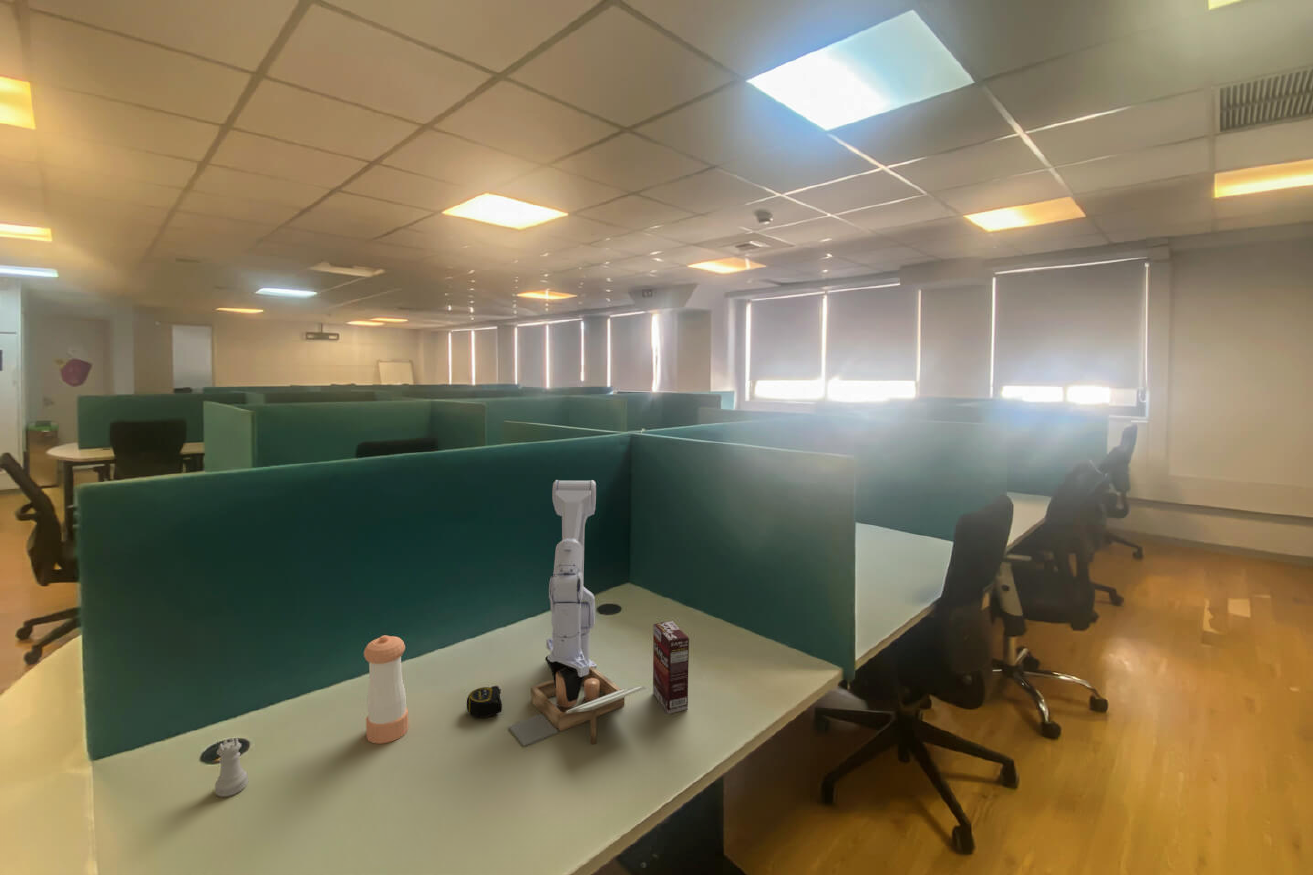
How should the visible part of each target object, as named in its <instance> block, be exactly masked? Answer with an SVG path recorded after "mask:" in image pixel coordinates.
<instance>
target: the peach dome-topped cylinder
mask: <svg viewBox="0 0 1313 875" xmlns="http://www.w3.org/2000/svg"><path fill="white" fill-rule="evenodd" d="M564 669H566V668H564ZM561 670H563V669H561ZM578 700H579V698H578V699H576V700H573V701H571V702H569V701H568V700H567V696H566V687H565V682H564V679H563V677H562V675H561V673H560V670H559V671H557V673H556V695H555V702H556V705H557V706H558V707H561V708H570V707H572V706H575V705H576V704H577V703H578Z"/></svg>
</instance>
